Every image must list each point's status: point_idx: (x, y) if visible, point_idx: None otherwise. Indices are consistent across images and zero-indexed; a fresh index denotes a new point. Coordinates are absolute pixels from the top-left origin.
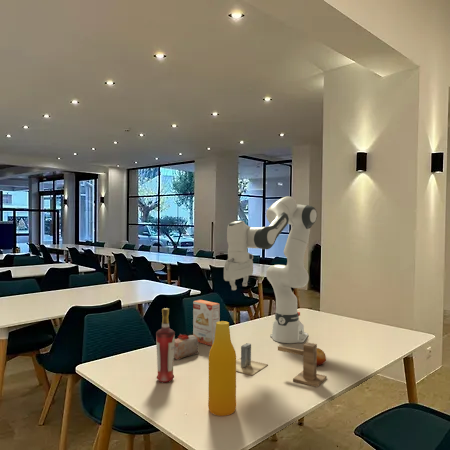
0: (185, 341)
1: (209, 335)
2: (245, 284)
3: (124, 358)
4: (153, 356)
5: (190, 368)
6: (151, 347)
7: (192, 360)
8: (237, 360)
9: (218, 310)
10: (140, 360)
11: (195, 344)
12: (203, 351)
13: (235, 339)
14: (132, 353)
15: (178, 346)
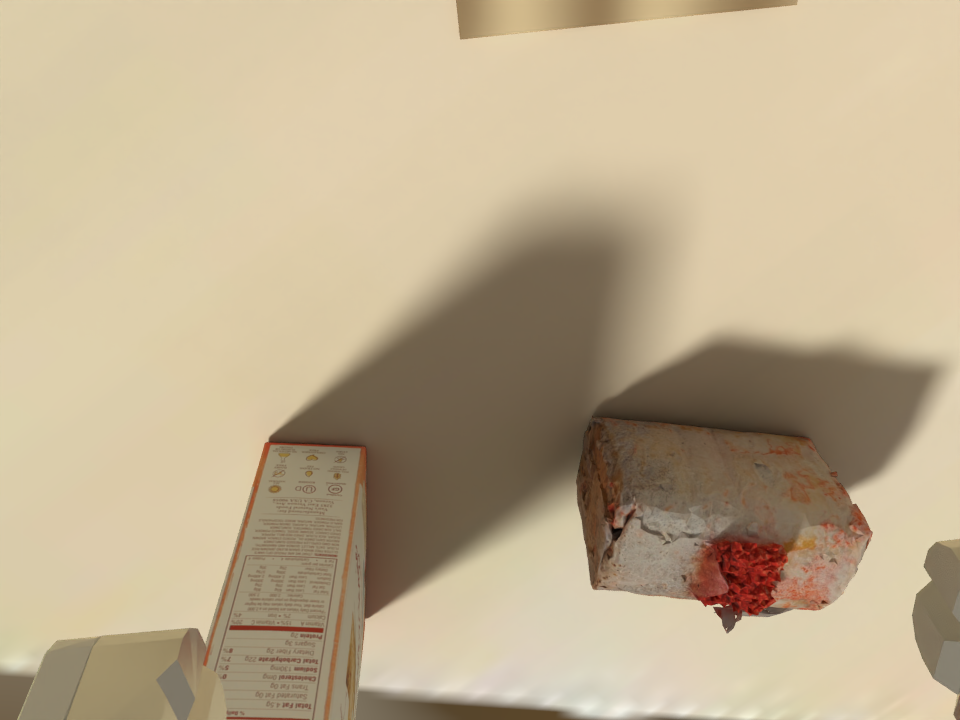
0: (772, 518)
1: (361, 533)
2: (163, 692)
3: None
4: None
5: (930, 241)
6: (680, 705)
7: (754, 348)
8: (538, 17)
9: None
10: None
11: (654, 465)
12: (514, 420)
13: (45, 421)
14: (849, 703)
15: (849, 503)
